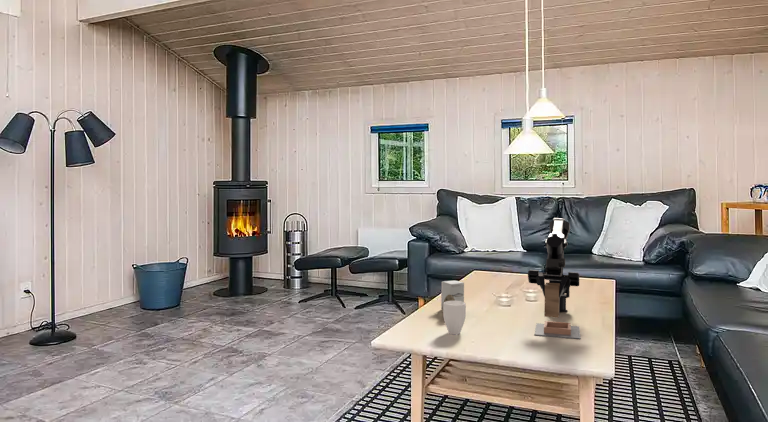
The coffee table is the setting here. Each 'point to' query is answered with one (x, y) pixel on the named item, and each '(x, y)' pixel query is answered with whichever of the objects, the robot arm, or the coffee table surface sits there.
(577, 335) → the holder
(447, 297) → the decorative egg
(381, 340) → the coffee table surface
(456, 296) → the supplement box
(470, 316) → the coffee table surface
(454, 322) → the mug
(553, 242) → the robot arm
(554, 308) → the block
